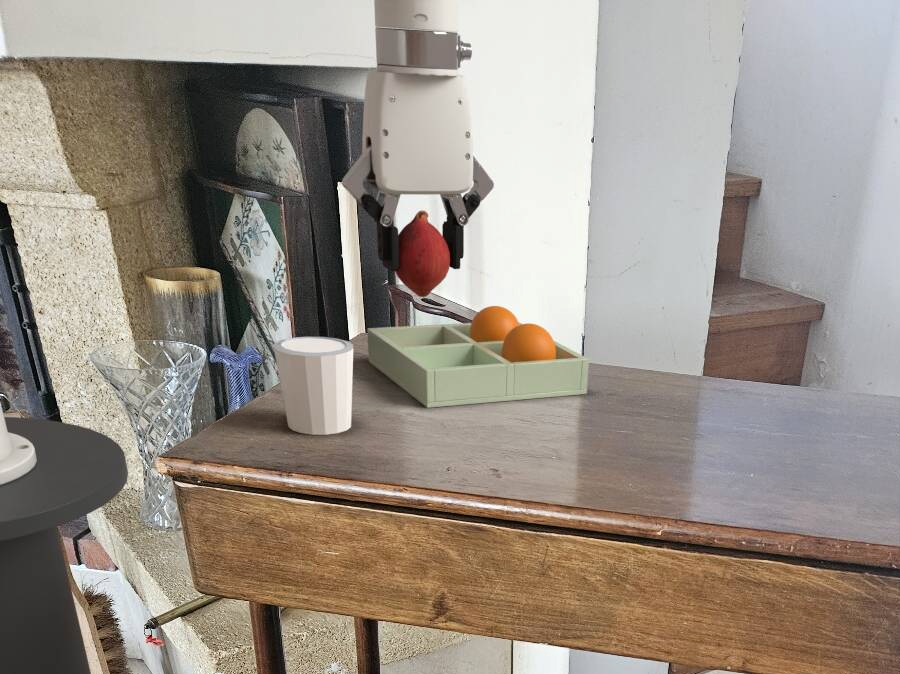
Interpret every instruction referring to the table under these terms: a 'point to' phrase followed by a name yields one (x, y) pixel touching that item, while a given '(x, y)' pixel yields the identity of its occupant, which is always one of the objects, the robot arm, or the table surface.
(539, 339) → the clementine
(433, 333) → the tray
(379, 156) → the robot arm
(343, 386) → the white cup
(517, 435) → the table surface
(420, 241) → the onion
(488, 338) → the clementine
